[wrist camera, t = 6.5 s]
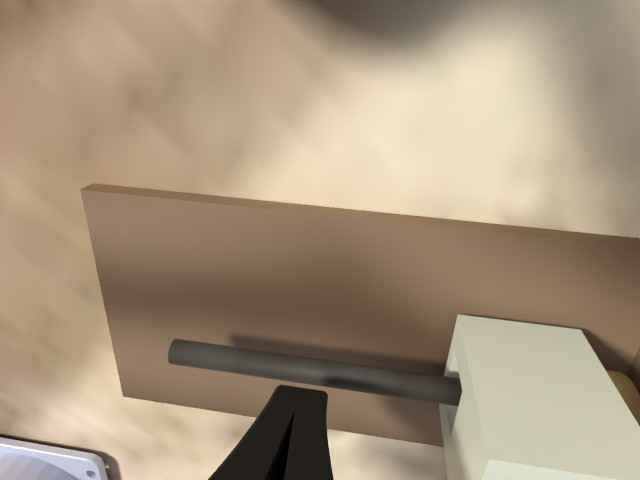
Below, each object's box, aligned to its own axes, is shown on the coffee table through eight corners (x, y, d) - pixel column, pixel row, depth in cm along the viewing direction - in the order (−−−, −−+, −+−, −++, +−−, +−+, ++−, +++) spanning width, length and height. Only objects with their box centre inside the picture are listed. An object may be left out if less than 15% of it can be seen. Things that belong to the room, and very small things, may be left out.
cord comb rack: (636, 463, 16) (769, 706, 11) (130, 385, 19) (10, 551, 13) (752, 249, 12) (1071, 452, 7) (92, 183, 15) (-109, 289, 9)
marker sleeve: (547, 415, 15) (615, 588, 10) (438, 399, 15) (456, 559, 11) (580, 329, 13) (677, 488, 9) (457, 314, 14) (488, 458, 9)
